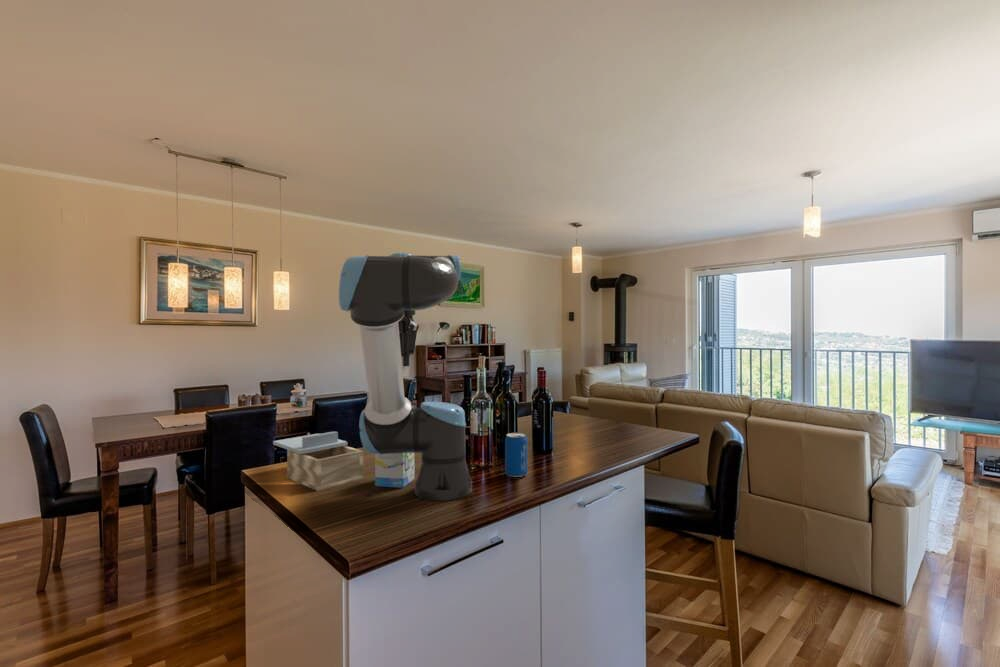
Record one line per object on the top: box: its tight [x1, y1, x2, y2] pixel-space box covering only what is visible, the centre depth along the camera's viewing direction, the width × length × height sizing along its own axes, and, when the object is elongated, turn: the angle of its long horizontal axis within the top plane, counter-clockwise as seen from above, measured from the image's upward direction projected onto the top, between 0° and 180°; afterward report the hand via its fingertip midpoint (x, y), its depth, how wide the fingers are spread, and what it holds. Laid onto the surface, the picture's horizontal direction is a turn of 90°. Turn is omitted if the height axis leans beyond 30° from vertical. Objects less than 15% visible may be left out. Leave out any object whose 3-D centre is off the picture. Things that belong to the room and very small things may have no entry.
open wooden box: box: [286, 445, 364, 492], centre depth 133 cm, size 18×14×8 cm
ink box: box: [374, 453, 415, 489], centre depth 129 cm, size 8×8×12 cm
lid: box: [272, 431, 348, 454], centre depth 139 cm, size 18×14×4 cm
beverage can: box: [504, 432, 528, 477], centre depth 134 cm, size 6×6×12 cm
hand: (403, 376), depth 146 cm, fingers closed
